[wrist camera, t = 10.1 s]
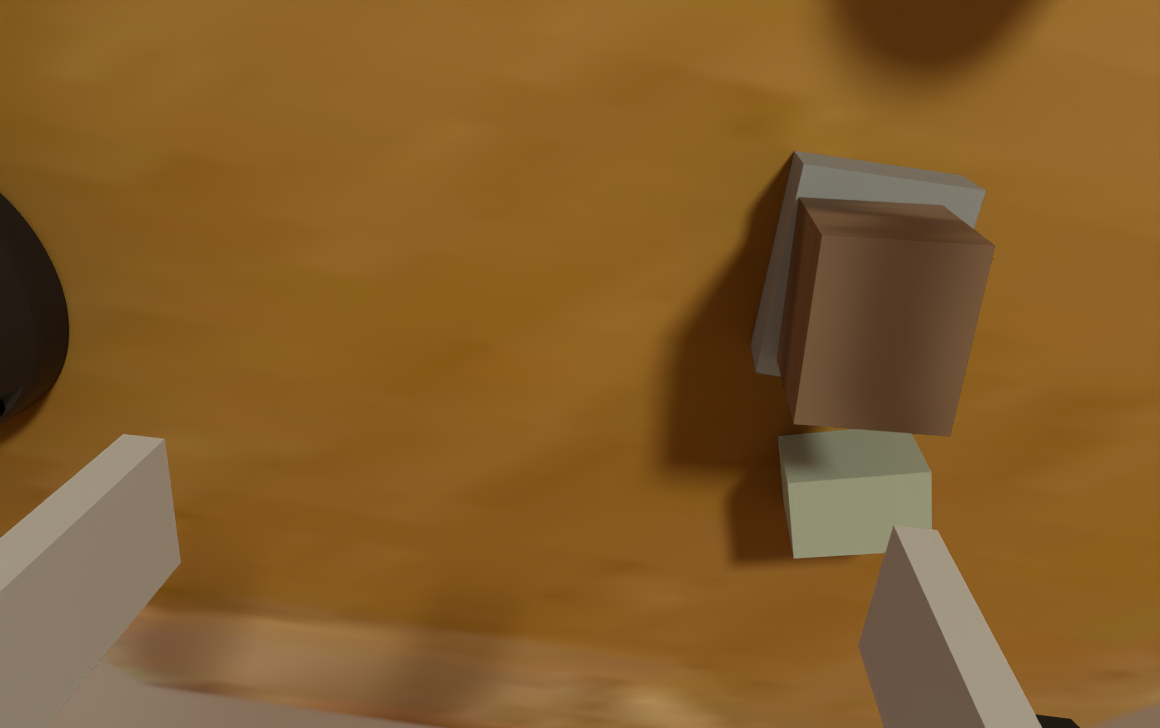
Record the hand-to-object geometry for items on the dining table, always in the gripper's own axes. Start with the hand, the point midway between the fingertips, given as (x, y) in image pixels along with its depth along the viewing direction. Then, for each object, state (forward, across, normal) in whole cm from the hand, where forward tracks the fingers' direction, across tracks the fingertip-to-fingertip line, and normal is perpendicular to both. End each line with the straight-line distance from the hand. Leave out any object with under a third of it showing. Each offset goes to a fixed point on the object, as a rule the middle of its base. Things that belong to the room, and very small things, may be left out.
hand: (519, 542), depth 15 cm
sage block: (+24, +13, -11) cm, 30 cm away
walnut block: (+21, +11, -1) cm, 24 cm away
